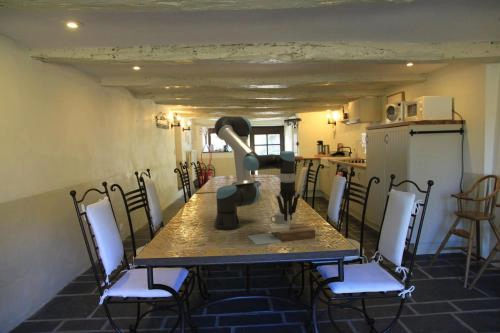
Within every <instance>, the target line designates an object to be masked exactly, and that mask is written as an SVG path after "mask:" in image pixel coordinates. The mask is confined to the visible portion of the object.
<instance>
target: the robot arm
mask: <svg viewBox="0 0 500 333" xmlns="http://www.w3.org/2000/svg"><path fill="white" fill-rule="evenodd" d="M214 132H215V135H216V136H217V137H218V139H219V140H221V141H224V142H225V143H226V144H227V145H228V146H229V147H230V148H231V149H232V150H233V159H234V167H235V168H234V169H235V176H236V182H235V183H234V185H232V184H231V185H224V186H220V187H219V188H217V189H216V194H215V195H216V196H215V197H216V217H215V219H214V223H213V224H214V225H213V226H214V227H213V228H215V229H217V230H224V231H225V230H226V231H229V230H235V229H238V228H240V227H241V220H240V218H239V214H238V208H240V207H245V206H251V205H254V204H256V203H257V202H258V200H259V198H260V189H259V188H258V186H257V185H256V184H255V182H254V180H252V178H251V177H252V176H251V175H252V174H251V172H254V171H255V172H256V171H263V170H273V169H274V170H279V175H280V176H279V181H280V184H279V185H280V186H279V187H280V190H279V193H278V194H276V195H275V198H276V200H277V205H278V208H279V212H281V213H282V214H284V220H285V221H286V225H287V226H289V227H290V225H291V221H292V220H293V215H294V214H295V213H296V211H297V206H298V201H299V199H300V196H301V195H300V194H299V193H297V192H296V181H295V180H296V170H295V169H296V155H295V152H294V151H293V150H283V151H280V153H279V154H273V153H269V154H262V155H259V154H258V153H257V152H256V151H254V150H253V149H252V147H250V146H249V145H248V143H247V140H248V139H249V137H250V136H249V135H250V134H252V133H251V132H252V124H251V121H250V120H249V119H248V118H247V117H244V116H226V115H225V116H221V117H220V118H218V119H217V120H216V121H215V124H214ZM282 201H283V202H282ZM288 213H289V214H288Z"/></svg>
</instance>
